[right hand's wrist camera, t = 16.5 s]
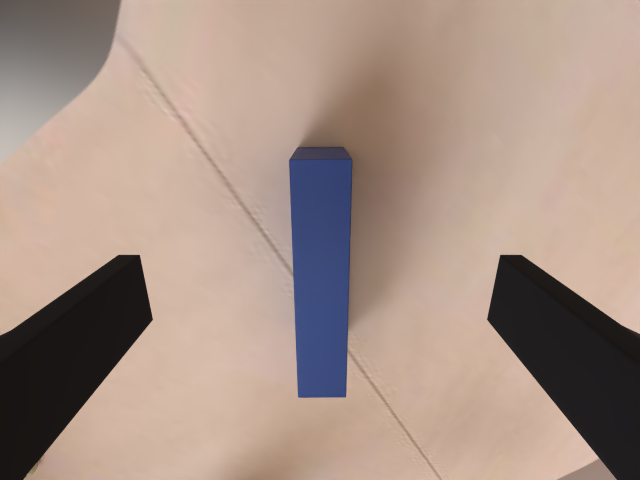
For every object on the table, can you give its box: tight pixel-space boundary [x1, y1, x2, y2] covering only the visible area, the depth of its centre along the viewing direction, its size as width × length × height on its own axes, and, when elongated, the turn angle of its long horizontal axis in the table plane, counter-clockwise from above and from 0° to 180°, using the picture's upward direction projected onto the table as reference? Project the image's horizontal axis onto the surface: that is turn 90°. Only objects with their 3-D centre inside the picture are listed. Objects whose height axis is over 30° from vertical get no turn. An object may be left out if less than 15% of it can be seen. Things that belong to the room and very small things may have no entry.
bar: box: [289, 147, 352, 398], centre depth 32 cm, size 22×4×9 cm, turn 0°
